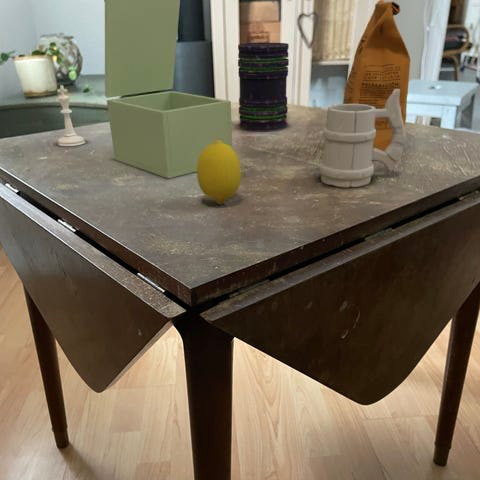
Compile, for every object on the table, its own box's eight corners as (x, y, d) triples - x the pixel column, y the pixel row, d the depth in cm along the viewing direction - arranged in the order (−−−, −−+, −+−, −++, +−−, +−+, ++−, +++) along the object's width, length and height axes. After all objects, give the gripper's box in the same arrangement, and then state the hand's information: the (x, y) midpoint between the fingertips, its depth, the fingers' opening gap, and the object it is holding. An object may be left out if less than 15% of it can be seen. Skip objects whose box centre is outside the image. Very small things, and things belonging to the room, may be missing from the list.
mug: (313, 173, 80) (317, 87, 74) (390, 170, 81) (401, 84, 75) (324, 189, 74) (330, 95, 68) (408, 185, 75) (422, 92, 69)
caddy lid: (182, -22, 81) (163, -31, 83) (107, -22, 74) (88, -32, 76) (172, 88, 92) (156, 77, 94) (107, 98, 85) (91, 85, 87)
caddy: (232, 162, 87) (231, 101, 82) (168, 178, 80) (162, 112, 75) (176, 146, 97) (171, 90, 92) (114, 159, 90) (106, 100, 85)
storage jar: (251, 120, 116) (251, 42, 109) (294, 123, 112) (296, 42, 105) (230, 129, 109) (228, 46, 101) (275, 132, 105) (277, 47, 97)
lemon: (190, 203, 70) (186, 140, 66) (223, 194, 73) (221, 133, 69) (216, 214, 66) (213, 148, 62) (250, 204, 69) (249, 140, 65)
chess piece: (63, 140, 103) (52, 83, 98) (88, 140, 103) (79, 83, 98) (54, 146, 99) (43, 87, 94) (80, 146, 99) (71, 87, 93)
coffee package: (393, 143, 96) (411, -1, 85) (403, 161, 85) (425, 0, 74) (337, 142, 97) (347, 0, 86) (340, 160, 87) (352, 1, 75)
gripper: (142, -124, 81) (155, 7, 89) (51, -136, 73) (75, 10, 81) (171, -134, 76) (182, 6, 84) (77, -147, 68) (99, 9, 76)
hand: (129, 7), depth 83 cm, fingers closed on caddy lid, 5 cm apart
